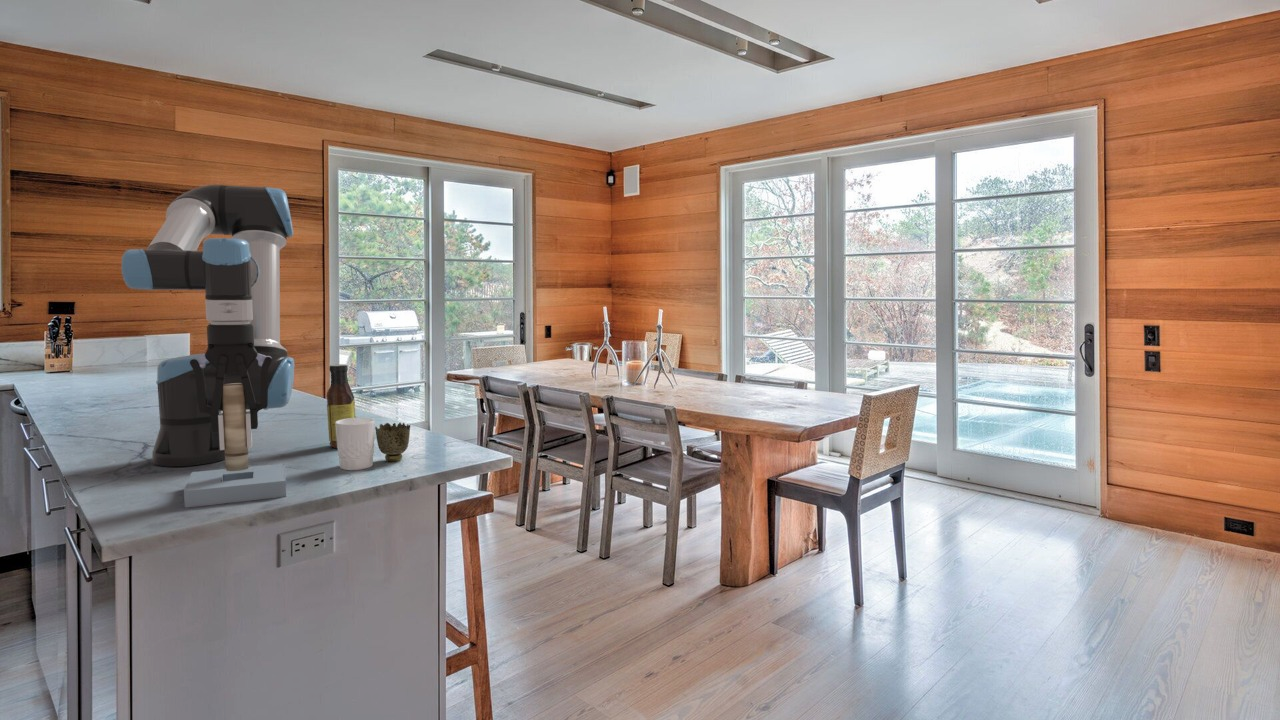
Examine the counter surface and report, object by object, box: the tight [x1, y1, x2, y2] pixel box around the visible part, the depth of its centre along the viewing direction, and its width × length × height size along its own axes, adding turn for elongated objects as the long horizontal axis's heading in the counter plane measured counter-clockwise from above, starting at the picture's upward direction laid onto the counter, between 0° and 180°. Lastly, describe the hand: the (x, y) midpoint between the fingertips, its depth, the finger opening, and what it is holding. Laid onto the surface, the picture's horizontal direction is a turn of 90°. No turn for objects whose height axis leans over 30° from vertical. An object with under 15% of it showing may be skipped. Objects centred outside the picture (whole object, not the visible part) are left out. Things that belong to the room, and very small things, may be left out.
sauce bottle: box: [326, 363, 356, 449], centre depth 174 cm, size 7×6×20 cm
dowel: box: [222, 383, 250, 471], centre depth 135 cm, size 4×4×16 cm
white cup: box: [335, 417, 376, 471], centre depth 156 cm, size 8×8×10 cm
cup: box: [374, 422, 411, 463], centre depth 161 cm, size 8×7×8 cm
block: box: [183, 463, 287, 509], centre depth 136 cm, size 14×16×3 cm
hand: (236, 447), depth 135 cm, fingers closed on dowel, 4 cm apart
